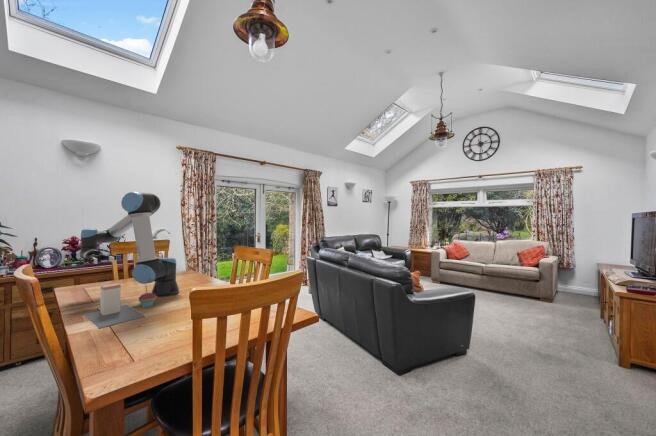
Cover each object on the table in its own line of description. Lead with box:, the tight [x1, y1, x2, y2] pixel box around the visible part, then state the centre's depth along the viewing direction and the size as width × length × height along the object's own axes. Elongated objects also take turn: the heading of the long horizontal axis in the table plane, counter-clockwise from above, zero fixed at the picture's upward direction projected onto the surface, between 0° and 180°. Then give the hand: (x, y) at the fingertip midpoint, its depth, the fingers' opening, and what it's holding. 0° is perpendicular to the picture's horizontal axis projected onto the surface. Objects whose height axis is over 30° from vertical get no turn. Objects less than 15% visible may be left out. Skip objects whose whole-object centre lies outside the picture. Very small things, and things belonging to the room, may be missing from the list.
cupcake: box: [138, 284, 158, 308], centre depth 149 cm, size 9×8×12 cm
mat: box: [83, 304, 147, 330], centre depth 134 cm, size 28×18×1 cm, turn 53°
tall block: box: [99, 282, 122, 315], centre depth 137 cm, size 5×7×14 cm
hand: (105, 260), depth 143 cm, fingers open, 6 cm apart
